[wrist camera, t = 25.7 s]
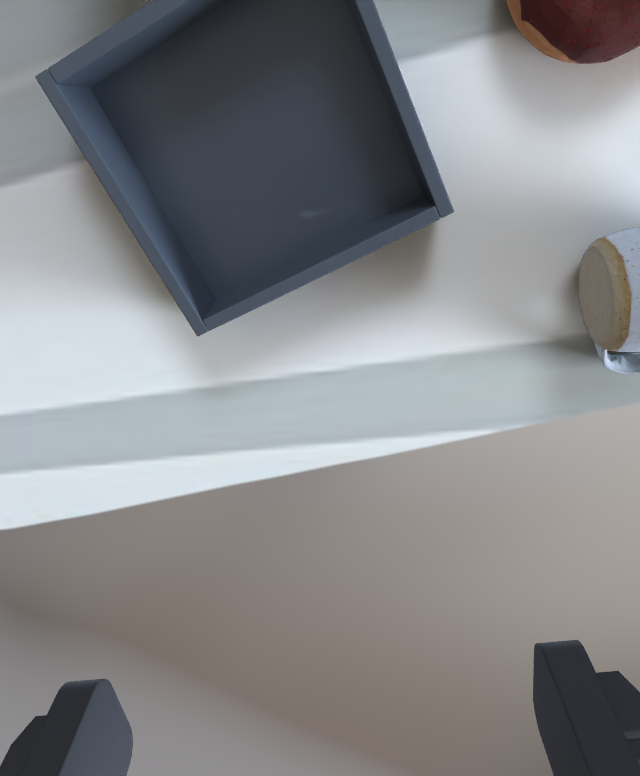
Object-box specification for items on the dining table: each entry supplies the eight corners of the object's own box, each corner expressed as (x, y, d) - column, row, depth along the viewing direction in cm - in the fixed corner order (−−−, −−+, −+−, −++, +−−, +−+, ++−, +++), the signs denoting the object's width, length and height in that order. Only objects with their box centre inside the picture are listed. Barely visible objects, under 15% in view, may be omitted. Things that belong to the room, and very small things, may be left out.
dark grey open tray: (329, -82, 30) (329, -114, 25) (439, 200, 36) (454, 212, 31) (72, 81, 33) (33, 76, 29) (212, 311, 39) (197, 337, 35)
